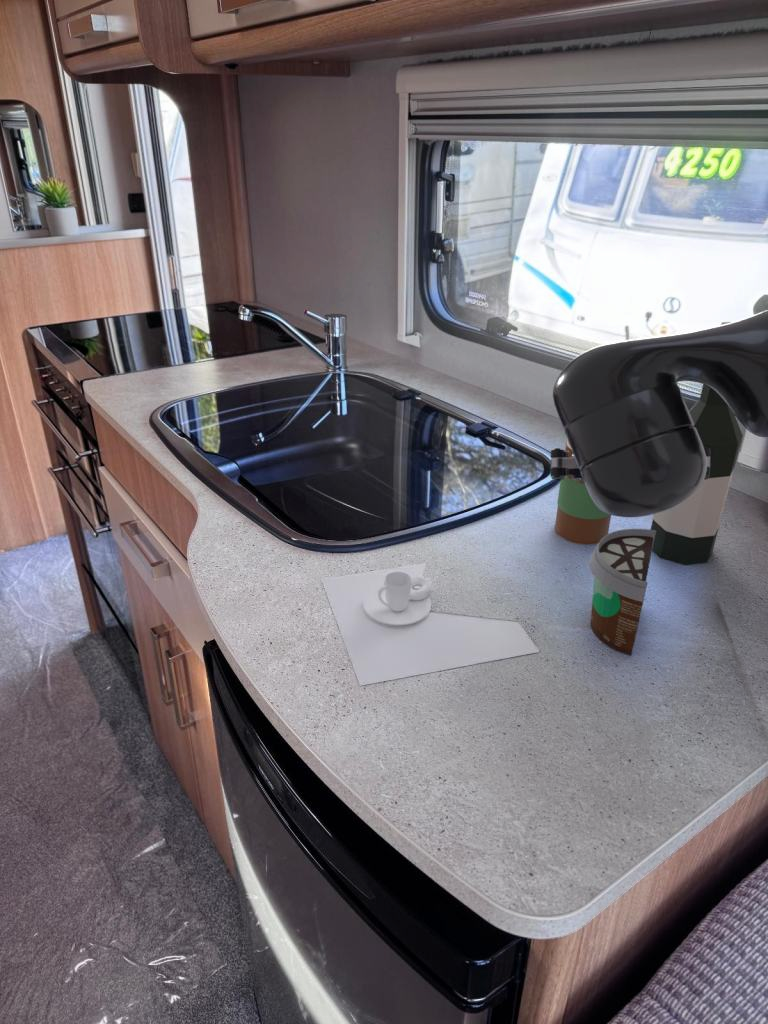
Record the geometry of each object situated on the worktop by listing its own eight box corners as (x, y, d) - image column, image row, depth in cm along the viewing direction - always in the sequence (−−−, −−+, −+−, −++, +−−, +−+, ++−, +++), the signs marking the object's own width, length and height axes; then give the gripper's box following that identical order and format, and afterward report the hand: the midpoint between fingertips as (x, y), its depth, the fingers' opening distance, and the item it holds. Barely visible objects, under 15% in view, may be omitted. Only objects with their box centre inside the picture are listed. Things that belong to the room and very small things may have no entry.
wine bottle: (705, 536, 100) (761, 317, 85) (719, 569, 92) (782, 336, 78) (643, 530, 101) (687, 314, 87) (651, 562, 94) (701, 332, 79)
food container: (588, 589, 88) (600, 517, 84) (641, 601, 86) (656, 528, 81) (571, 649, 78) (583, 571, 73) (630, 664, 76) (647, 585, 71)
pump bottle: (606, 521, 103) (623, 424, 96) (610, 547, 97) (629, 446, 90) (553, 516, 104) (566, 420, 97) (554, 542, 98) (568, 441, 91)
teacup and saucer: (425, 582, 89) (426, 554, 87) (447, 620, 83) (448, 591, 81) (356, 593, 87) (355, 565, 85) (373, 633, 80) (373, 603, 78)
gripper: (538, 500, 62) (556, 506, 77) (722, 502, 57) (702, 508, 72) (540, 412, 62) (557, 435, 77) (723, 407, 57) (703, 433, 72)
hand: (627, 470), depth 75 cm, fingers open, 8 cm apart
